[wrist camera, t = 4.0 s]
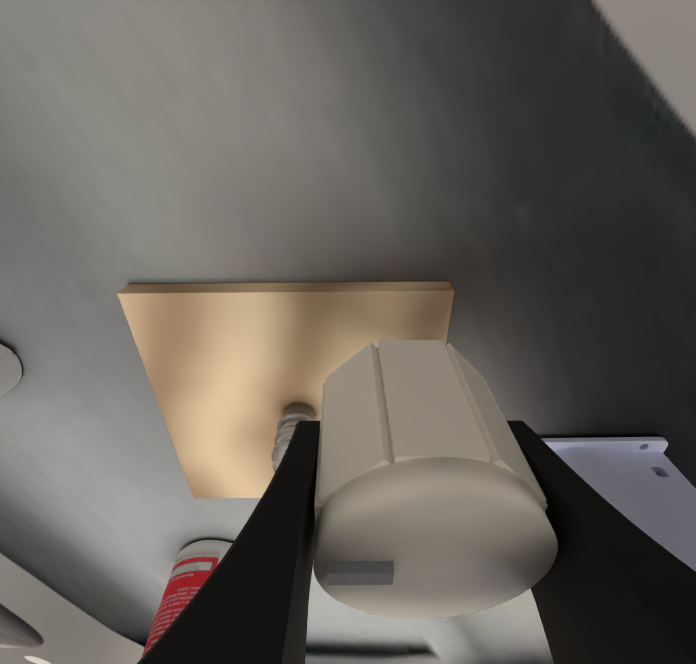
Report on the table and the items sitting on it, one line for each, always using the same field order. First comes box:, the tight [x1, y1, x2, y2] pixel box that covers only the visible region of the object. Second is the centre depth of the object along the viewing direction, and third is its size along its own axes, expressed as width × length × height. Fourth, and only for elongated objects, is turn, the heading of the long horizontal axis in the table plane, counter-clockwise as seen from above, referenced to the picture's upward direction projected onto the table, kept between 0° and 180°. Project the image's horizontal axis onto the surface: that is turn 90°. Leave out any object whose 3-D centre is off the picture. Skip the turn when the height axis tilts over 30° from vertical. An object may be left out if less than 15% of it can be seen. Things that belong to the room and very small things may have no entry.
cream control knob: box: [313, 340, 558, 619], centre depth 10 cm, size 5×5×5 cm
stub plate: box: [118, 281, 455, 498], centre depth 21 cm, size 15×15×1 cm
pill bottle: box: [141, 540, 233, 659], centre depth 26 cm, size 6×6×11 cm
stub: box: [271, 402, 315, 472], centre depth 19 cm, size 2×2×4 cm
